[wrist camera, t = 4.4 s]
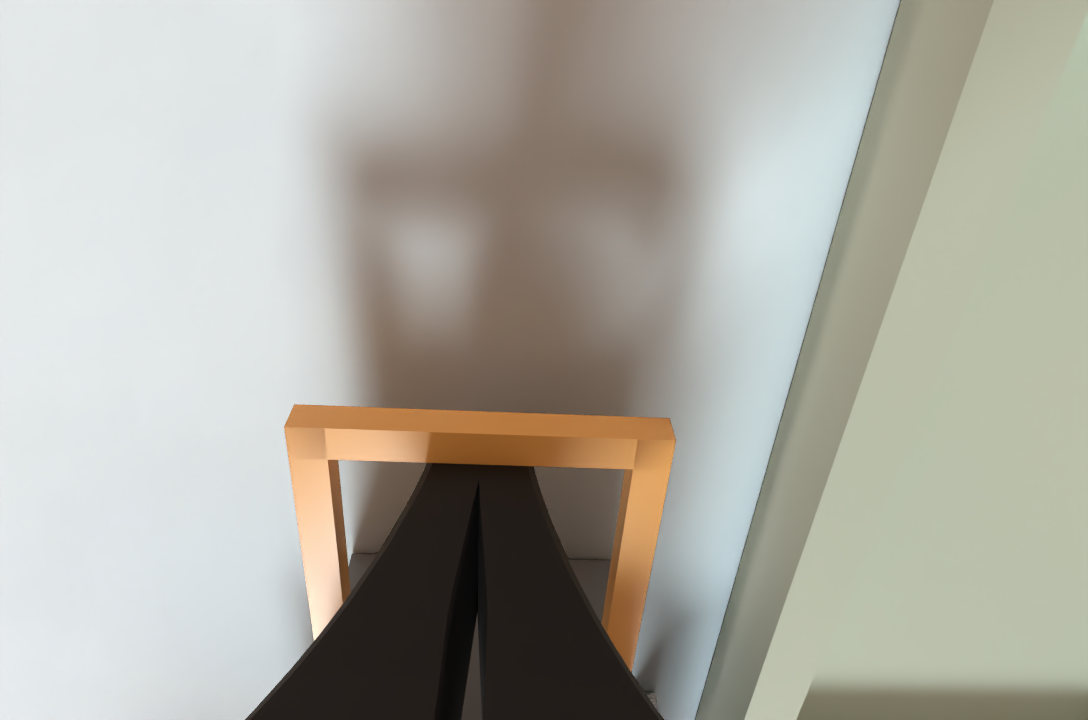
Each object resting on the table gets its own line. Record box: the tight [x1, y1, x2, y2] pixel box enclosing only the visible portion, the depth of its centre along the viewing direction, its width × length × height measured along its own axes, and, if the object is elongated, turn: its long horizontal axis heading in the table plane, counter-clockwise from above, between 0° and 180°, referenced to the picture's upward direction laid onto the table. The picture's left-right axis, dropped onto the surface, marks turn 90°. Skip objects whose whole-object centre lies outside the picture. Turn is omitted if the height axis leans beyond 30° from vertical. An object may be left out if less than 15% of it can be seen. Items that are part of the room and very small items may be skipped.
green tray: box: [695, 0, 1088, 720], centre depth 13 cm, size 10×17×2 cm, turn 177°
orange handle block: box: [284, 404, 676, 720], centre depth 13 cm, size 5×12×5 cm, turn 176°
